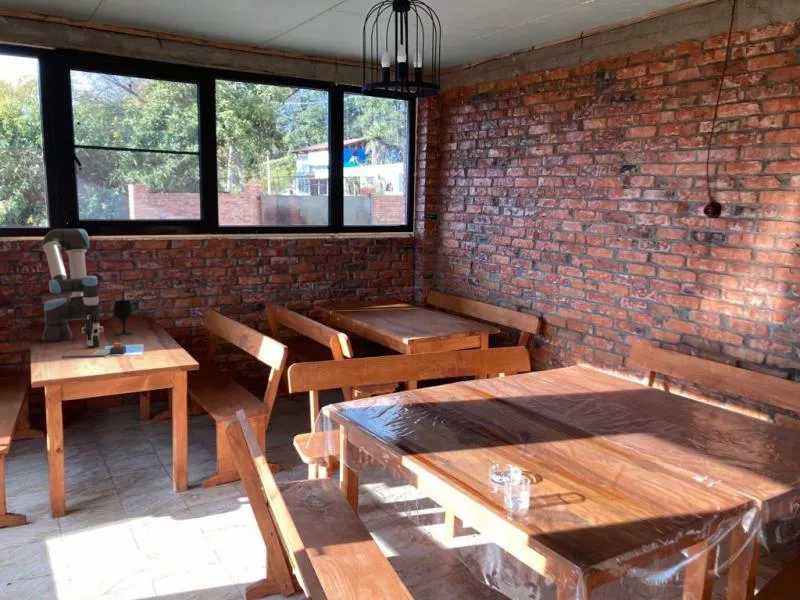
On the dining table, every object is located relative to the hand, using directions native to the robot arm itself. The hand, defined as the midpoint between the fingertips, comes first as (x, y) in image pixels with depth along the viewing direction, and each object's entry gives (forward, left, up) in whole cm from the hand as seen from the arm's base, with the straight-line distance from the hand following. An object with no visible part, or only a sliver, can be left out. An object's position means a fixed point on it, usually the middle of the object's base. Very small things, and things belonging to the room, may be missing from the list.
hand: (93, 343), depth 356 cm
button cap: (+18, +18, +1) cm, 25 cm away
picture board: (+18, +3, -2) cm, 18 cm away
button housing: (+18, +18, -2) cm, 25 cm away
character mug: (0, 0, -2) cm, 2 cm away
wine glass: (-34, +8, -2) cm, 35 cm away
